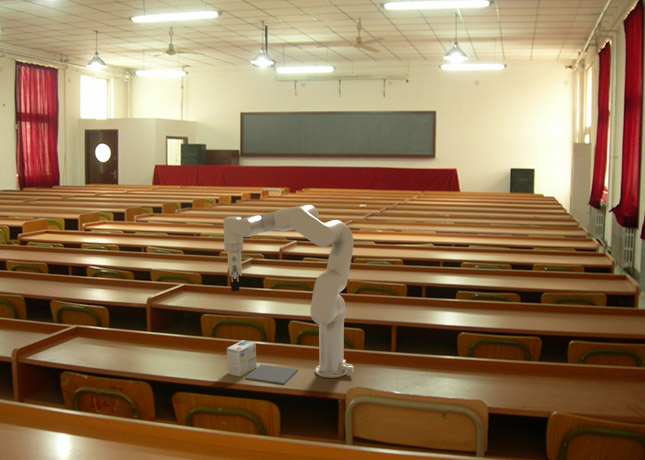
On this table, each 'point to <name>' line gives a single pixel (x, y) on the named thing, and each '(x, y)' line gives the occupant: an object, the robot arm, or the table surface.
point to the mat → (272, 374)
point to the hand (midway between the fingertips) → (235, 287)
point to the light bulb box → (241, 358)
